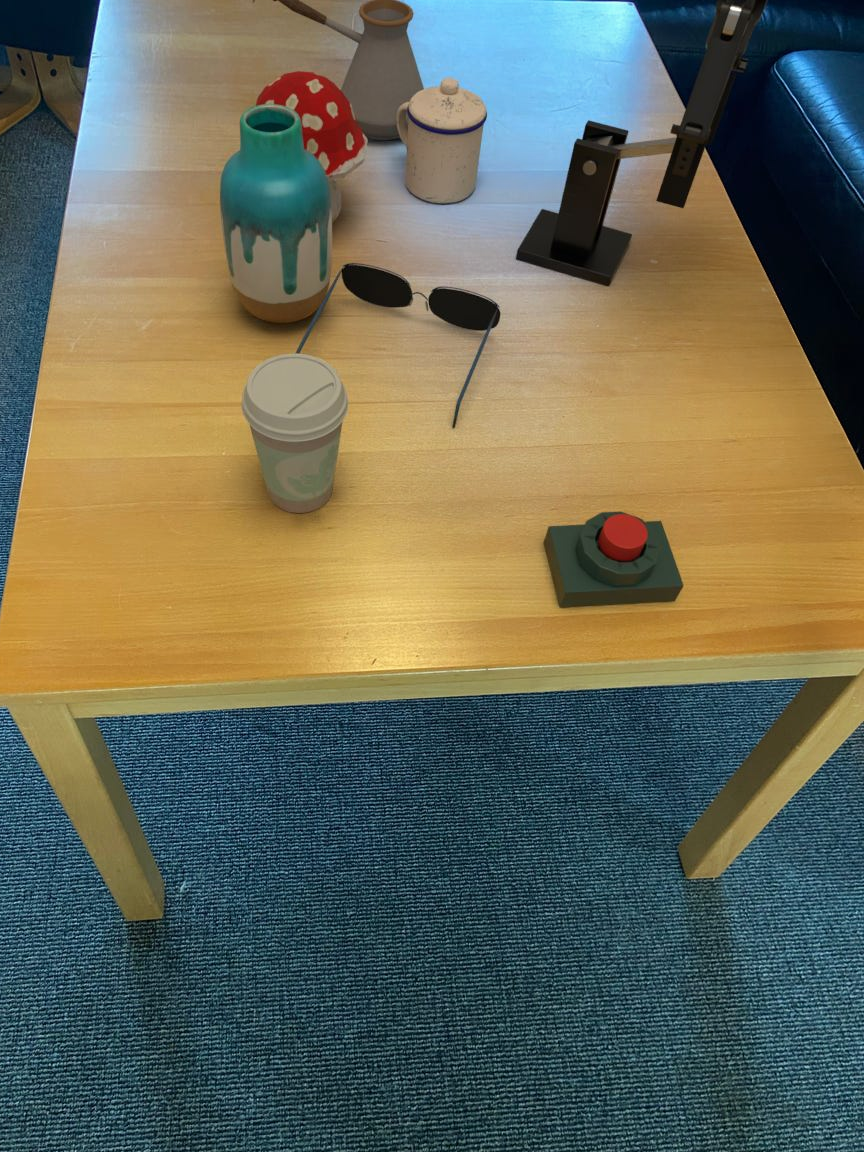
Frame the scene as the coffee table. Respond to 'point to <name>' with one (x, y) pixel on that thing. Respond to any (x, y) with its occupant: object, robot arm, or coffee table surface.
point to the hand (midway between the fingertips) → (685, 170)
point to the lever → (638, 147)
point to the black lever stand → (582, 215)
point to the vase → (276, 218)
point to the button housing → (609, 567)
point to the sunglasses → (398, 293)
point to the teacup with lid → (442, 141)
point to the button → (622, 537)
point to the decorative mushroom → (322, 124)
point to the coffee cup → (296, 427)
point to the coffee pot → (376, 64)
